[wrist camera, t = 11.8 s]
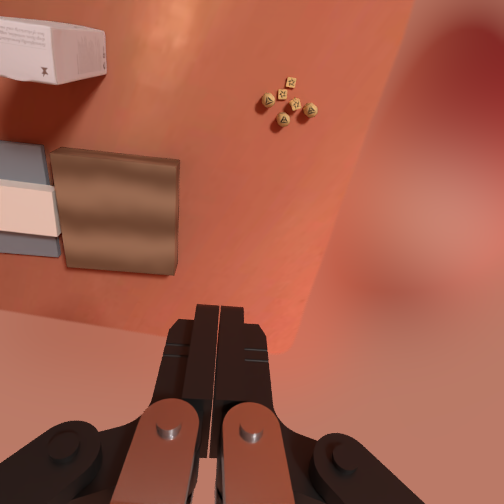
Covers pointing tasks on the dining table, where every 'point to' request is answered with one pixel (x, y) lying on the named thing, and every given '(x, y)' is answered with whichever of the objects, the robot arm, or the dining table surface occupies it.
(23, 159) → the slate mat
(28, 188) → the cream tile
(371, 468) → the robot arm
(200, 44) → the dining table surface
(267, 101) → the dice set
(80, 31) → the skincare box
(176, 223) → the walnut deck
